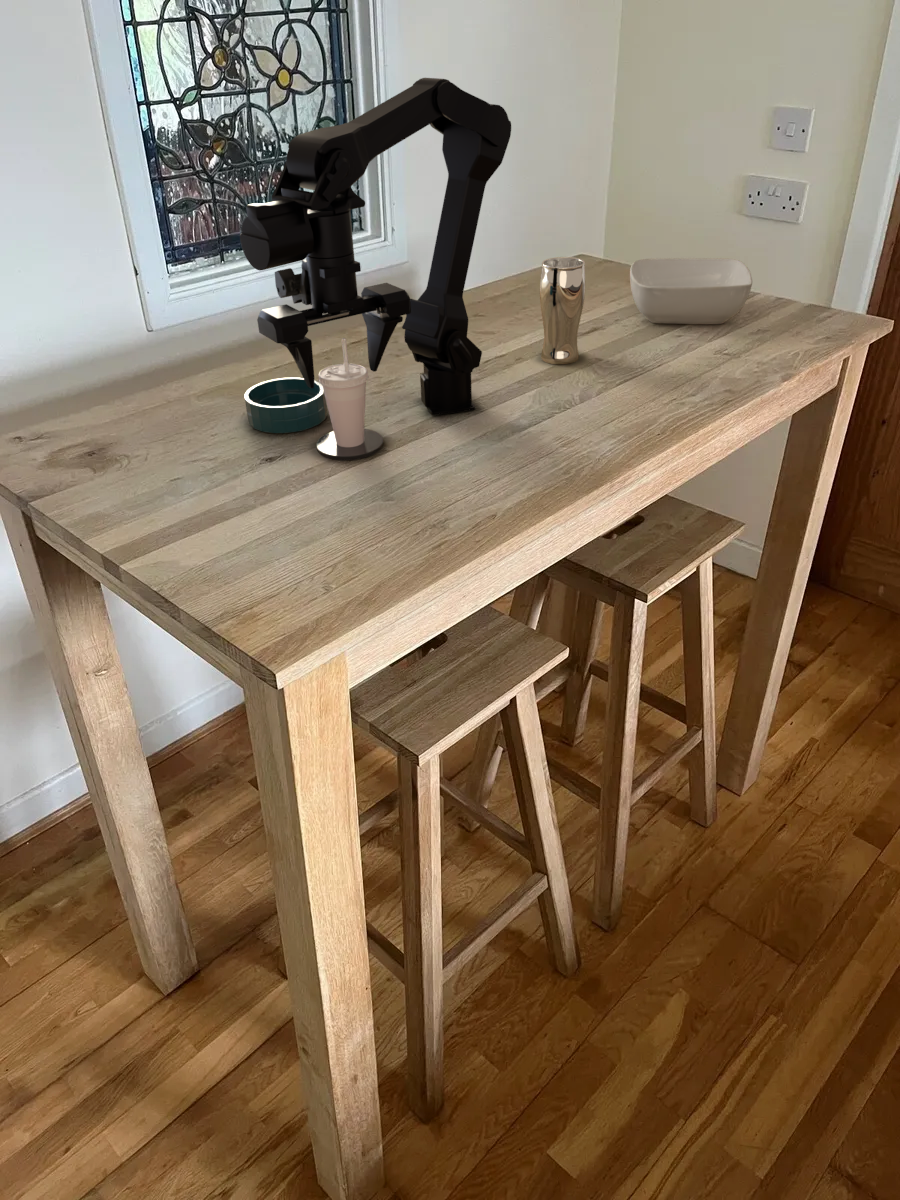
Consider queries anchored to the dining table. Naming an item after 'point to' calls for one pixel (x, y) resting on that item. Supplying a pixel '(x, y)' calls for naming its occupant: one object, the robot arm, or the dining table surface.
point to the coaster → (333, 451)
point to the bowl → (689, 289)
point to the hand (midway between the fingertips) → (342, 378)
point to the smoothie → (345, 399)
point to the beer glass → (561, 307)
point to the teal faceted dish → (285, 405)
